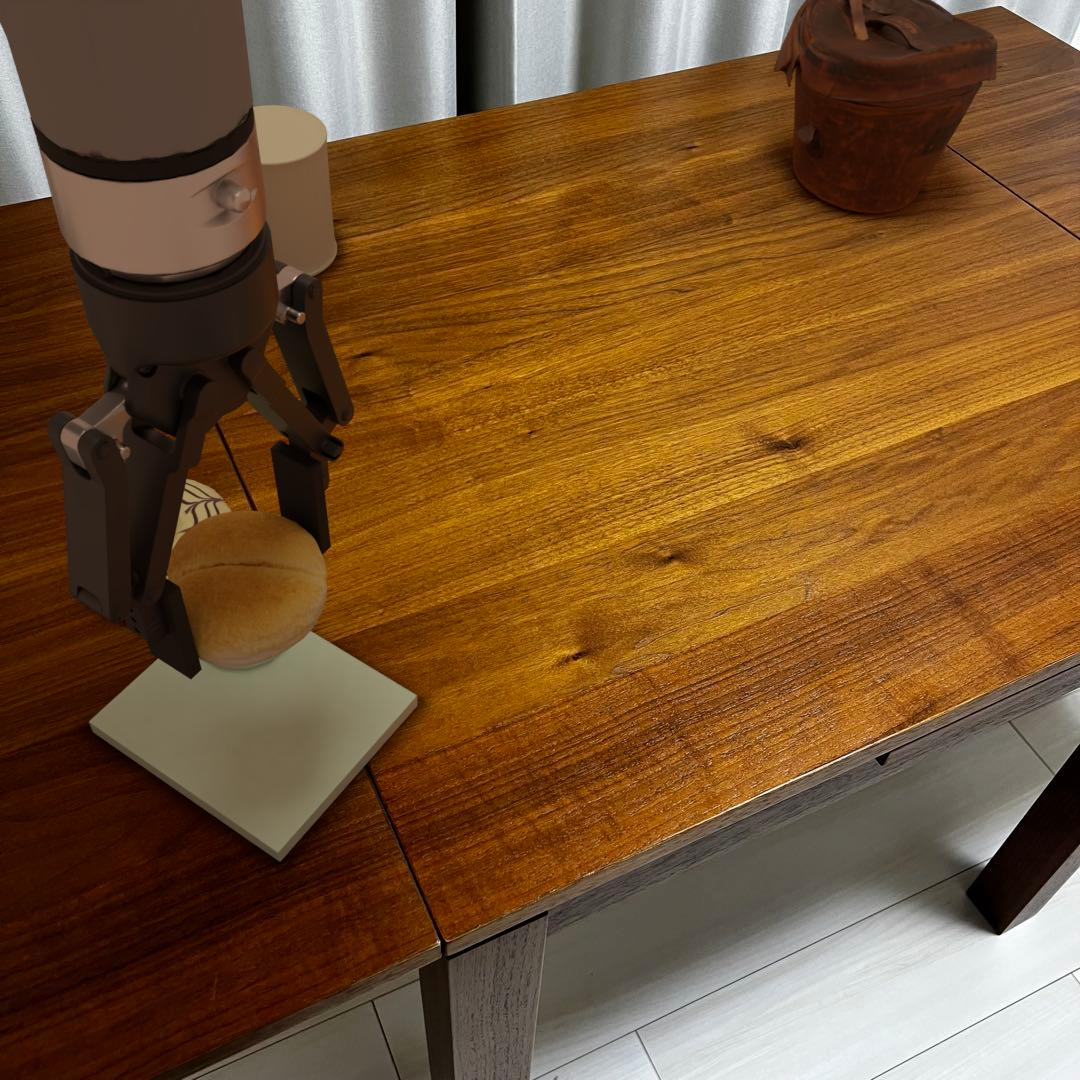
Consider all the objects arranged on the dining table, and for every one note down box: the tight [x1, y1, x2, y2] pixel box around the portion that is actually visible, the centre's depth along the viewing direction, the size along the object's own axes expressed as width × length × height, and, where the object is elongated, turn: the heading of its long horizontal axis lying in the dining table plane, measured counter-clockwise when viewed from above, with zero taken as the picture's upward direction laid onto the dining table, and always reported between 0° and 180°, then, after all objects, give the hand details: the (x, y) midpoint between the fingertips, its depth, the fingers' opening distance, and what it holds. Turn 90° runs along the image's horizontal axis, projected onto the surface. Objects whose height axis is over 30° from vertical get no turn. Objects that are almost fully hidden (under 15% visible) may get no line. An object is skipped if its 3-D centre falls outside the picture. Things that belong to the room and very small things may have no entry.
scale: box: [88, 630, 418, 863], centre depth 73 cm, size 15×13×3 cm
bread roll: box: [168, 510, 328, 667], centre depth 61 cm, size 8×9×4 cm
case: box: [773, 0, 998, 214], centre depth 113 cm, size 18×20×18 cm
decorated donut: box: [166, 478, 232, 579], centre depth 81 cm, size 10×11×4 cm
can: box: [253, 104, 338, 277], centre depth 102 cm, size 9×9×12 cm
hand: (244, 598), depth 62 cm, fingers closed on bread roll, 9 cm apart
